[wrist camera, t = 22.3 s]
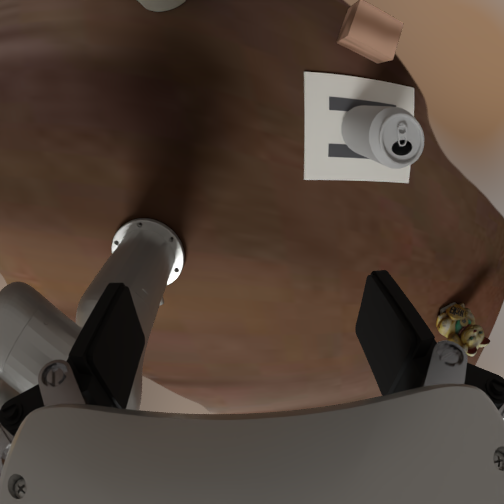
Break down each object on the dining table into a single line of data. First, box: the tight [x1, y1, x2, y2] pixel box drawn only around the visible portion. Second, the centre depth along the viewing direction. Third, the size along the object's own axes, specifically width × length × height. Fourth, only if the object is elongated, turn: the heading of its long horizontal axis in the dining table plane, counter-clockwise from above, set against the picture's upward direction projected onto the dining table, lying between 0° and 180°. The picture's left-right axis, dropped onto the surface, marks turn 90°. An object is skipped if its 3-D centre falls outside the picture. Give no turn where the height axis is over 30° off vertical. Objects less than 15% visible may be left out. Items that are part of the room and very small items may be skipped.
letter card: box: [304, 72, 414, 183], centre depth 37 cm, size 16×18×1 cm
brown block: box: [336, 0, 404, 64], centre depth 28 cm, size 7×7×5 cm
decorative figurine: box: [436, 302, 490, 356], centre depth 50 cm, size 10×8×15 cm
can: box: [341, 105, 424, 169], centre depth 32 cm, size 8×8×12 cm
